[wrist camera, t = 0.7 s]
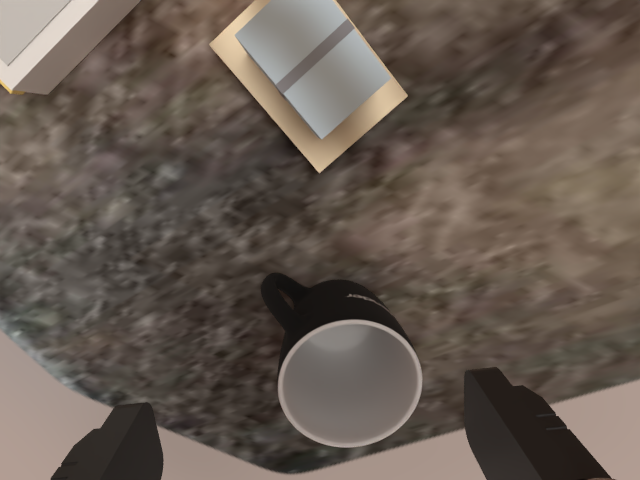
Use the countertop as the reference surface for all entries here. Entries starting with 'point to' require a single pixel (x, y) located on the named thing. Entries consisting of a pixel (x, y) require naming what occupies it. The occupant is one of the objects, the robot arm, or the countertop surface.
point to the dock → (51, 38)
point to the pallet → (287, 116)
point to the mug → (342, 362)
